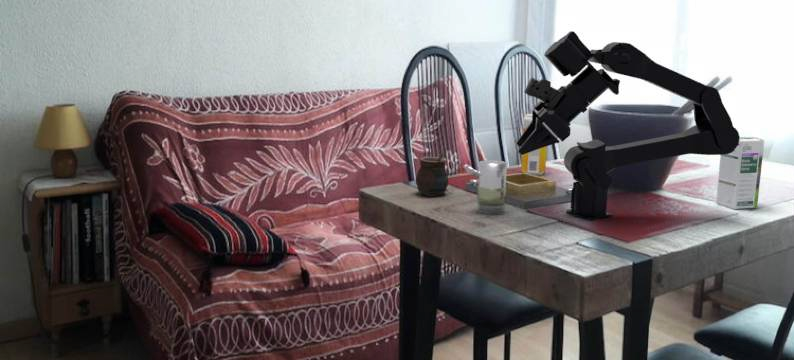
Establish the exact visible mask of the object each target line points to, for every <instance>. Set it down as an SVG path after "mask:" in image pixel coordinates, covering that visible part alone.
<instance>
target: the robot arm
mask: <svg viewBox="0 0 794 360" xmlns="http://www.w3.org/2000/svg"><path fill="white" fill-rule="evenodd" d="M543 56H544V57H545V58H546V59H547V60H548V61H549V62H550V64H552V66H553V67H554V68H555V69H556V70H557V71H558V72H559V73H560V74H561V75H562V76H563V77H567V76H569V75H570V77H575V78H573V79H572V80H571V81H570V82H569V83H568V84H567V85H566V86H565V85H562V86H559V88H558V89H556V88H555V87H553V86H551V83H552V82H551V81H549V80H548V79H545V78H542V79H540V80H539V79H536V78H535V77H532V76H531V78H530V80H529V82H528V83H527V85H526V87H525V89H524V91H523V92H524V94H526V95H527V96H530V97H533V98H536V99H538V100H539V101H538V102H537V103H536V104H535V105H534V106H533V109H531V114H532V121H531V123H530V124H529V126H528V127H527V128H526V130H525V131H524V133H523V132H522V134H521V136H520V137H519V139H518V140H517V141H516V145H517V146H518V147H519V148H518V153H519V154H520V155H521V156H522V155H523V154H526V153H529V152H532V151H534V150H537V149H540V148H543V147H546V146H547V147H548V146H552V145H555V144H559V143H560V142H564V141H565V140H566V139H568V138H569V137H570V136H571V130H572V129H571V127H570V126H571V125H572V124H571V123H572V121H574V120H575V119H576V118H577V117H578V116H579V115H580V114H581V113H583V114H584V113H585V112H586V111H588V107H589V106H590V105H592V104H593V103H594V101H596V100H597V99H598V98H599V97H600V96H601V95H603V93H605V91H607V90H609V91H610V92H611V93H613V94H614V95H615V96H617V95H619V93H620V88H619V87H620V84H621V80H620V79H618V78H613V77H611V76H610V75H609V73H607V72H610V73H614V74H617V75H622V76H627V77H630V78H634V79H635V78H636V79H639V80H642V81H644V82H647V83H649V84H652V85H654V86H656V87H658V88H661V89H662V90H665V91H667V92H669V93H672V94H673V95H676V96H678V97H680V98H682V99H685V100H688V101H689V102H691V103H692V105H693V117H694V118H693V119H694V122H695V125H693V126H691V127H689V128H687V129H685V130H684V131H682V132H679V133H675V134H669V135H665V136H659V137H655V138H653V137H652V138H649V139H644V140H637V141H632V142H627V143H622V144H617V145H611V146H606V143H605V142H602V141H601V140H599V139H592V140H590V141H587V142H578V141H576V144H577V145H575V146H572V147H570V148H569V149H568V150H567V152H566V153H565V154H564V157H563V164H564V167H565V168H566V170H567V171H568V172H569V173H571V175H572V179H573V180H574V182H573V183H572V184H573V185H572V188H573V189H572V195H571V201H570V209H566V210H565V213H566V214H569V215H571V216H574V217H575V216H576V217H577V218H581V219H583V220H584V219H585V220H588V221H592V220H596V219H602V218H608V217H612V216H613V213H611V212H608V211H607V207H608V196H609V192H608V191H609V189H610V187H611V184H612V182H613V179H612V177H611V176H610V175H609V174H608V173H609V172H610V173H611V171H613V170H615V169H616V168H620V167H626V166H632V165H637V164H641V163H648V162H652V161H658V160H662V159H668V158H674V157H678V156H679V157H680V156H684V155H691V154H692V155H702V156H703V155H704V156H719V155H726V154H729V153H732V152H733V151H734V150H735V148H736V147H737V146H738V143H739V138H740V137H741V136H740V134H739V131H738V129H737V128H736V127H734V124H733V121H732V118H731V116H730V114H729V113H728V111H727V109H726V107H725V105H724V104H723V101H722V96H721V94H720V92H719V90H718V89H717V88H716V87H713V86H709V85H706V84H704V83H701V82H699V81H698V80H695V79H692V78H690V77H688V76H686V75H684V74H681V73H679V72H677V71H675V70H673V69H670V68H668V67H666V66H663V65H661V64H659V63H657V62H655V61H654V60H652V59H651V58H650V57H649V56H648V55H647V54H646V53H644V52H643V51H641V50H640V49H639V48H637V47H636V46H634V45H633V44H631V43H627V42H618V41H617V42H616V41H614V42H610V43H607V44H606V45H605V46H604V47H603V48H601V49H591V50H590V49H589V47H587V46H586V44H585V43H583V41H582V40H581V39H580V37H579V36H578V34H577V33H576V32H575V31H569V32H568V33H566V34H565V35H564V36H563V37H561V38H559V39H558V40H557V41H554V42H553V43H552V44H551V45H550V46H549V47H548V48H547V49H546V51H545V52H544V53H543ZM592 63H594V64H598V65H599V64H600V66H601V68H600V69H598V70H597V69H596V68H595V67H594V66H593V65H592ZM606 71H607V72H606ZM576 75H577V76H576Z"/></svg>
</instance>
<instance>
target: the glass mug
mask: <svg viewBox="0 0 794 360" xmlns="http://www.w3.org/2000/svg"><path fill="white" fill-rule="evenodd" d="M507 164H508V163H507V162H506V161H503V160H499V159H498V160H496V159H485V160H480V161H478V170H477V169H475V168H473V167H472V166H470V165H468V164H464V165H463V166H462V167H463V169H464V170H466V171H467V172H469V173H471V174H472V175H474V176H475V177H478V178H477V180H478V194H477V201H476V203H477V205H476V208H477V209H476V211H477V213H479V214H482V215H487V216H489V215H490V216H497V215H498V216H499V215H502V214H503V215H504V214H505V212H506V211H505V210H506V203H505V199H506V175H507V170H508V169H507V168H508V167H507V166H508V165H507Z"/></svg>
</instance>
